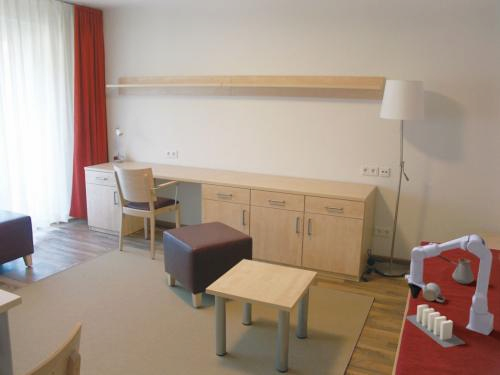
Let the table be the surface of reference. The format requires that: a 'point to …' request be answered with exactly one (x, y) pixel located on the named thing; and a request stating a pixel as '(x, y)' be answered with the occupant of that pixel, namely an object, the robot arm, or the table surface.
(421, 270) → the robot arm
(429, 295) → the ceramic mug
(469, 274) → the coffee pot
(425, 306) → the domino
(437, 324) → the domino
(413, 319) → the mat
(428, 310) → the domino
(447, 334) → the domino
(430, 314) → the domino
